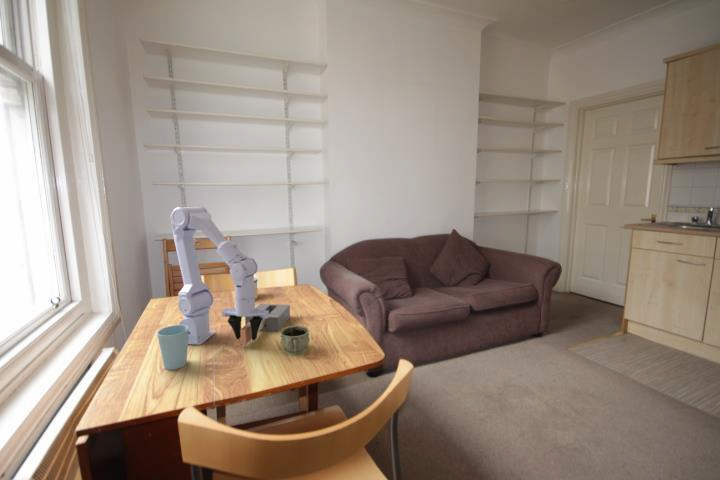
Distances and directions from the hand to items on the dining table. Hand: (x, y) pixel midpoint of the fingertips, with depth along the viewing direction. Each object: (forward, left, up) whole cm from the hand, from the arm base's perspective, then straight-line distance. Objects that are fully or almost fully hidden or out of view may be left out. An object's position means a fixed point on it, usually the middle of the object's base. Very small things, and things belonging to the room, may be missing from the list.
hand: (246, 338), depth 105 cm
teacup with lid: (+47, +20, -3) cm, 51 cm away
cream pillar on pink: (+8, 0, -1) cm, 8 cm away
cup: (-13, +15, -3) cm, 20 cm away
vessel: (0, -16, -3) cm, 16 cm away
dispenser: (+20, 0, -3) cm, 20 cm away
